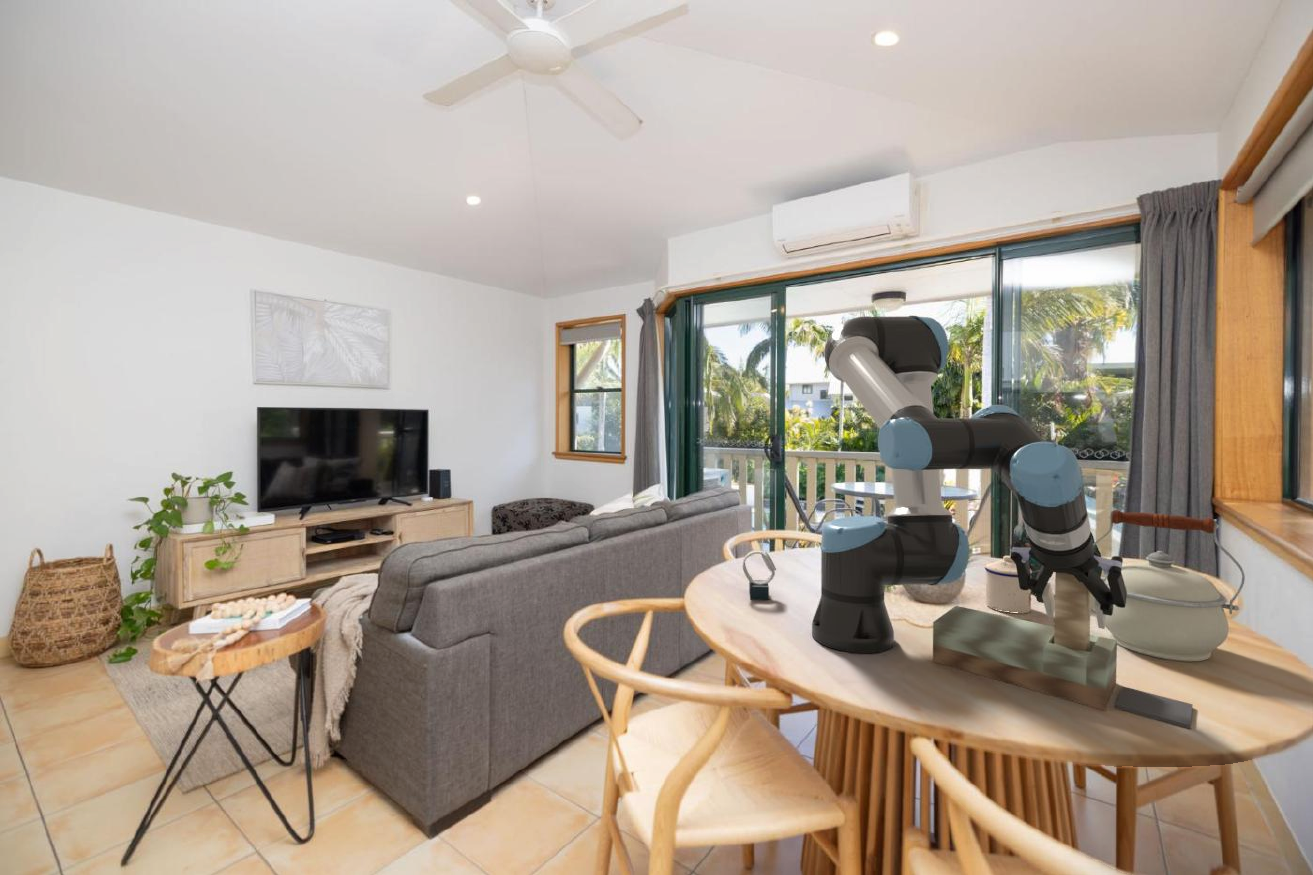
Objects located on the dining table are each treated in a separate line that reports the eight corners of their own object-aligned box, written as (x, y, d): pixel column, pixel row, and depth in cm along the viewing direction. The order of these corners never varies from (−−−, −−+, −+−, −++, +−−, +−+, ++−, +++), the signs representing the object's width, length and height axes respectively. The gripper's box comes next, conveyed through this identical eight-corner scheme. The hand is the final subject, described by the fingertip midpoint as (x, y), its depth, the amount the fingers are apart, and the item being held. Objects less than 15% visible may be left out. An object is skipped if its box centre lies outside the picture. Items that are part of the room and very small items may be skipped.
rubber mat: (1115, 708, 83) (1115, 704, 83) (1122, 689, 89) (1122, 686, 89) (1190, 728, 78) (1190, 725, 78) (1192, 707, 83) (1192, 704, 83)
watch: (777, 600, 133) (777, 554, 133) (742, 599, 134) (742, 553, 134) (775, 593, 139) (775, 548, 138) (742, 592, 140) (742, 548, 139)
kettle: (1240, 648, 104) (1244, 514, 103) (1243, 681, 91) (1248, 528, 90) (1073, 615, 122) (1076, 500, 121) (1056, 639, 109) (1059, 511, 108)
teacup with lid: (1041, 615, 122) (1042, 561, 122) (997, 614, 123) (998, 561, 122) (1010, 597, 134) (1011, 548, 134) (970, 596, 135) (971, 548, 134)
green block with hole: (932, 661, 100) (933, 622, 99) (955, 641, 108) (955, 605, 108) (1105, 710, 83) (1106, 663, 82) (1116, 683, 91) (1117, 640, 91)
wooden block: (1053, 667, 90) (1055, 568, 90) (1058, 659, 93) (1060, 563, 93) (1084, 675, 87) (1086, 572, 87) (1089, 666, 90) (1091, 567, 90)
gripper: (977, 542, 85) (1005, 621, 98) (1143, 565, 72) (1151, 653, 84) (988, 504, 89) (1014, 584, 101) (1148, 518, 75) (1155, 609, 88)
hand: (1076, 615), depth 93 cm, fingers open, 6 cm apart
